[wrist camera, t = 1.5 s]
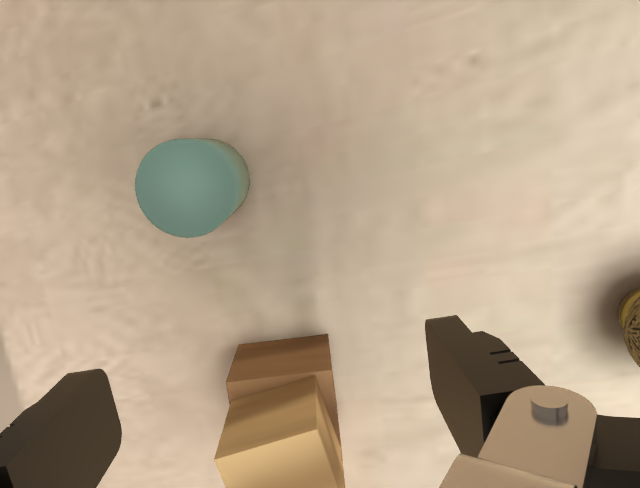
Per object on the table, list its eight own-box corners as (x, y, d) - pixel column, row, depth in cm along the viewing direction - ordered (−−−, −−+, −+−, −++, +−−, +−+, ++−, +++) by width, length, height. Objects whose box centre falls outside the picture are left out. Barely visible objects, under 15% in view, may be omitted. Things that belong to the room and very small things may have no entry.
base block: (238, 344, 31) (225, 382, 26) (327, 333, 31) (331, 369, 26) (252, 423, 32) (242, 473, 27) (337, 413, 32) (342, 461, 27)
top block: (231, 400, 26) (214, 459, 21) (315, 375, 26) (316, 429, 21) (260, 472, 27) (250, 544, 22) (340, 448, 27) (348, 516, 22)
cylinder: (164, 144, 28) (125, 145, 22) (243, 134, 28) (226, 133, 22) (178, 222, 29) (146, 243, 23) (254, 213, 29) (241, 231, 23)
